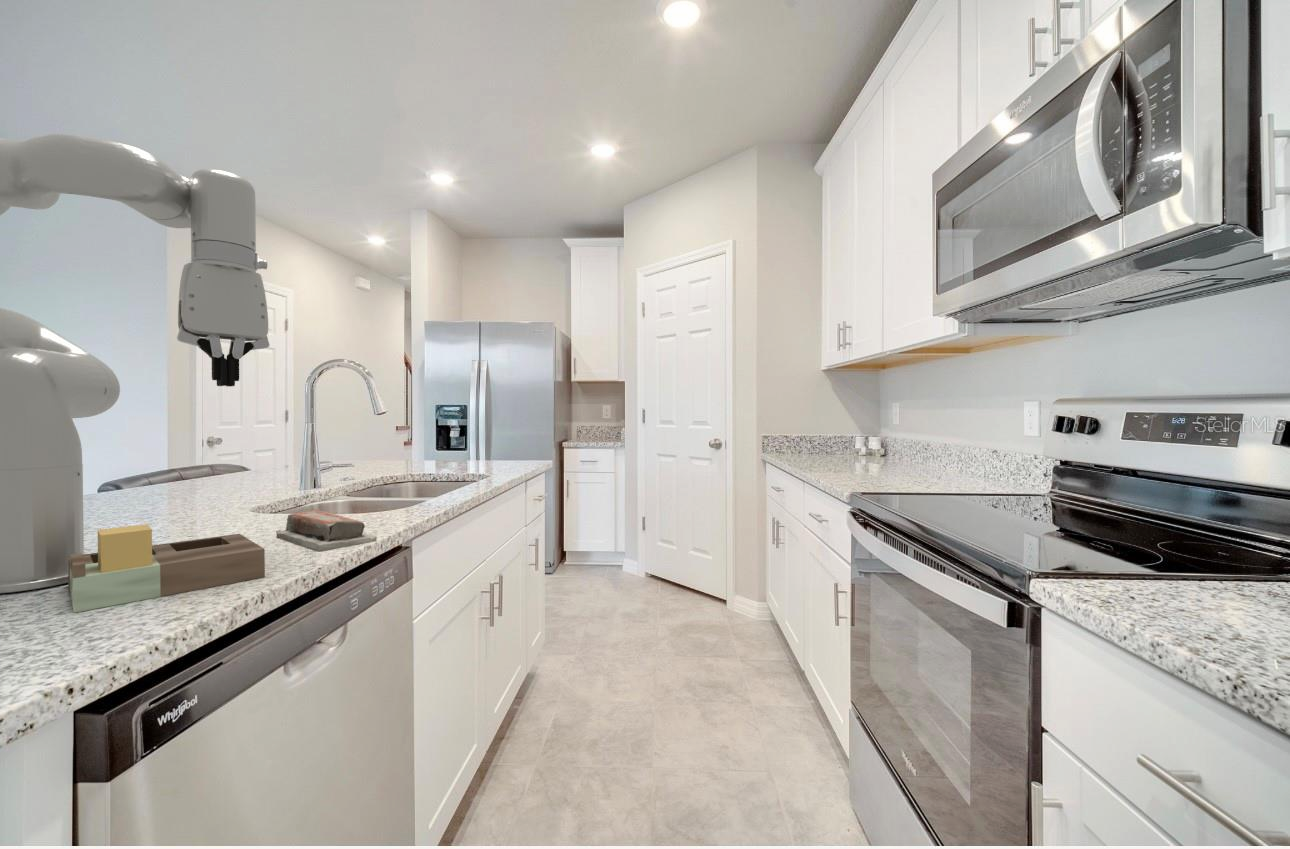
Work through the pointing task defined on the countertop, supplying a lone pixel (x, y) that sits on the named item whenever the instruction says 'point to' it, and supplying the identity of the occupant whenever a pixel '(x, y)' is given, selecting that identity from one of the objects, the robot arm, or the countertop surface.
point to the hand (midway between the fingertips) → (225, 385)
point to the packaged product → (323, 531)
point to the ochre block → (124, 548)
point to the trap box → (165, 571)
